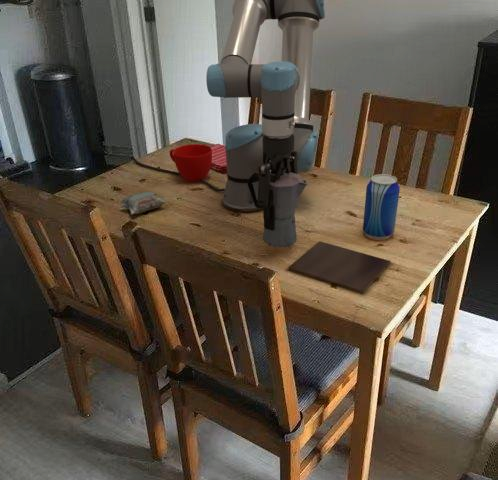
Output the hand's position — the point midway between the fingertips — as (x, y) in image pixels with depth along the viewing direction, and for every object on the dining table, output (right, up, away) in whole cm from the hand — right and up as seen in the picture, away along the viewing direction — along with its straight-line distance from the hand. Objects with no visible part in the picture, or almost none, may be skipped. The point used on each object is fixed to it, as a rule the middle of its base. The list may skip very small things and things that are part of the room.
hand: (278, 222), depth 138 cm
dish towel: (-18, +31, +62) cm, 72 cm away
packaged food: (-40, +7, +28) cm, 49 cm away
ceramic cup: (-28, +21, +49) cm, 60 cm away
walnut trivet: (+15, -12, -4) cm, 19 cm away
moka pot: (0, -4, +3) cm, 5 cm away
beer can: (+28, -2, +9) cm, 29 cm away
